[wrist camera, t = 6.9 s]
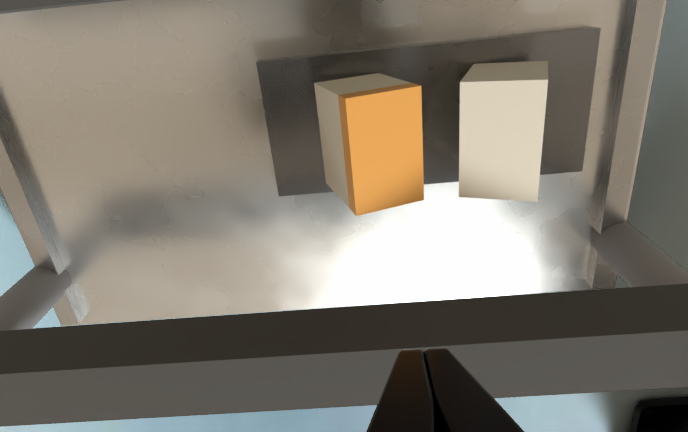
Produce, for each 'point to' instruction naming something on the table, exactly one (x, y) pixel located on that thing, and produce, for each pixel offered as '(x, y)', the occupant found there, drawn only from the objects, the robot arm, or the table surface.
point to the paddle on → (502, 130)
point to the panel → (303, 151)
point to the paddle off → (372, 141)
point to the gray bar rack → (341, 343)
